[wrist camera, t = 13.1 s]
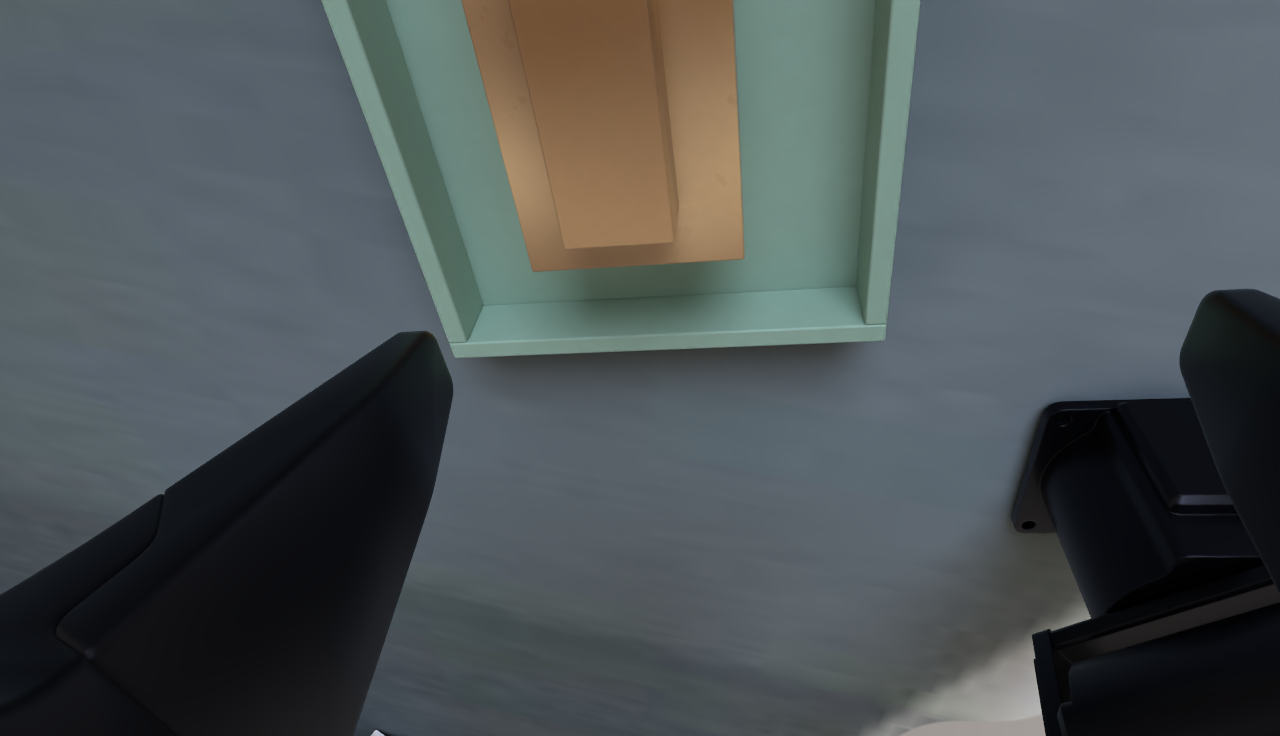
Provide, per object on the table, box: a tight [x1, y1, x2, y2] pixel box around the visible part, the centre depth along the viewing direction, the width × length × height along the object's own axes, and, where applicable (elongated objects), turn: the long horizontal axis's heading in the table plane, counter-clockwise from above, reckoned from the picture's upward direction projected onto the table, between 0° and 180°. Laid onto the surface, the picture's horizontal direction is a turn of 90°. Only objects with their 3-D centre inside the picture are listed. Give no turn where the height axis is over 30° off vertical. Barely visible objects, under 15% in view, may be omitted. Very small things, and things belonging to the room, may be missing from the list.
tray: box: [321, 0, 921, 358], centre depth 17 cm, size 18×13×2 cm
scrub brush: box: [461, 0, 745, 272], centre depth 15 cm, size 10×5×5 cm, turn 8°
